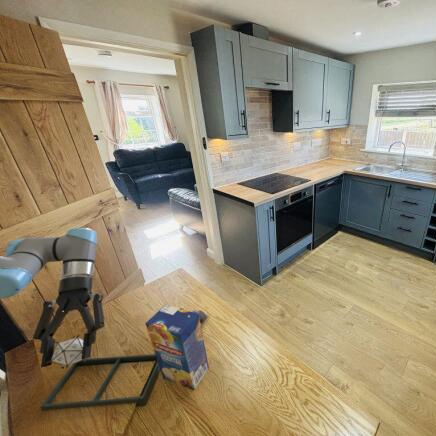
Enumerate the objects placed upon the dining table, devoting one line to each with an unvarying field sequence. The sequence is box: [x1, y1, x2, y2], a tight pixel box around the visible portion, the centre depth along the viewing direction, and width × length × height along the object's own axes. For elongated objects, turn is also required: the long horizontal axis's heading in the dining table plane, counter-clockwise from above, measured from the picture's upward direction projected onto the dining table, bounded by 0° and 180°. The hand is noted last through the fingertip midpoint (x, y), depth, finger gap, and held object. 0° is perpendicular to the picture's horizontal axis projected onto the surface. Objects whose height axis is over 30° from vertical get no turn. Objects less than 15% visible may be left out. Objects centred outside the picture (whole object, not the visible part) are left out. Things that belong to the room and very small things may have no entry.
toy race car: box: [179, 307, 207, 325], centre depth 93 cm, size 10×15×6 cm, turn 69°
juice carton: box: [145, 304, 210, 391], centre depth 72 cm, size 12×8×24 cm, turn 72°
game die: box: [47, 333, 86, 370], centre depth 67 cm, size 9×8×10 cm
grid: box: [39, 353, 161, 412], centre depth 73 cm, size 27×14×4 cm, turn 95°
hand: (66, 362), depth 65 cm, fingers closed on game die, 8 cm apart
